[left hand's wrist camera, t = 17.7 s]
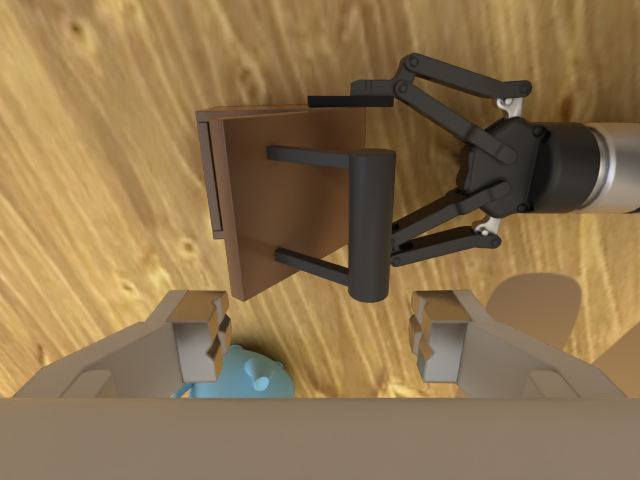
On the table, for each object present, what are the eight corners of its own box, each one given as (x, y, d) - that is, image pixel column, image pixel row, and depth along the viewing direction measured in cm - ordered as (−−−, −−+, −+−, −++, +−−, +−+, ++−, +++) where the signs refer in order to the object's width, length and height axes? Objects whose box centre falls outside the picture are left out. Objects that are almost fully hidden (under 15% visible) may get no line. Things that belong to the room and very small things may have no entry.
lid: (231, 296, 21) (351, 353, 17) (208, 118, 18) (354, 124, 13) (351, 232, 31) (452, 257, 26) (353, 107, 27) (471, 107, 22)
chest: (227, 208, 38) (213, 239, 30) (215, 106, 34) (194, 111, 26) (340, 202, 39) (356, 231, 31) (340, 103, 35) (358, 106, 27)
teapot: (216, 414, 50) (192, 500, 40) (176, 333, 45) (136, 410, 34) (305, 397, 49) (304, 481, 39) (276, 312, 44) (265, 385, 33)
